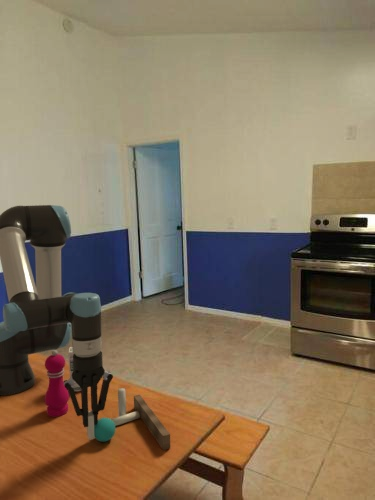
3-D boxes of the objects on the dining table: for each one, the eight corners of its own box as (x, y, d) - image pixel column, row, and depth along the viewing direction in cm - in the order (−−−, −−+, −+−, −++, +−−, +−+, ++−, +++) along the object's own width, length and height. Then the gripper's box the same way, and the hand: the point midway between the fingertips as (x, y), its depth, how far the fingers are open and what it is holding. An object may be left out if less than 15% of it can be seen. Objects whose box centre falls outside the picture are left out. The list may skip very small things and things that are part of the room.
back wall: (134, 407, 123) (133, 396, 123) (140, 406, 124) (139, 394, 123) (163, 450, 102) (163, 436, 101) (170, 448, 103) (170, 434, 102)
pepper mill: (62, 419, 117) (59, 355, 115) (40, 416, 119) (37, 353, 116) (73, 406, 124) (71, 346, 122) (53, 404, 126) (50, 345, 123)
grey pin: (117, 417, 118) (117, 389, 117) (125, 415, 119) (124, 387, 118) (120, 420, 116) (119, 392, 115) (127, 418, 117) (126, 390, 116)
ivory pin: (110, 420, 112) (139, 411, 116) (108, 418, 114) (136, 409, 118) (111, 428, 112) (139, 419, 116) (108, 426, 113) (136, 417, 118)
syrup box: (70, 392, 133) (68, 352, 132) (71, 385, 139) (69, 346, 137) (87, 390, 135) (85, 350, 133) (87, 383, 140) (85, 344, 139)
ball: (89, 418, 107) (110, 409, 108) (96, 434, 110) (116, 425, 111) (90, 433, 102) (112, 424, 103) (97, 450, 104) (119, 441, 105)
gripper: (64, 361, 96) (68, 450, 99) (115, 352, 102) (118, 437, 104) (59, 351, 103) (63, 435, 105) (108, 343, 108) (110, 423, 111)
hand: (90, 436), depth 105 cm, fingers closed
